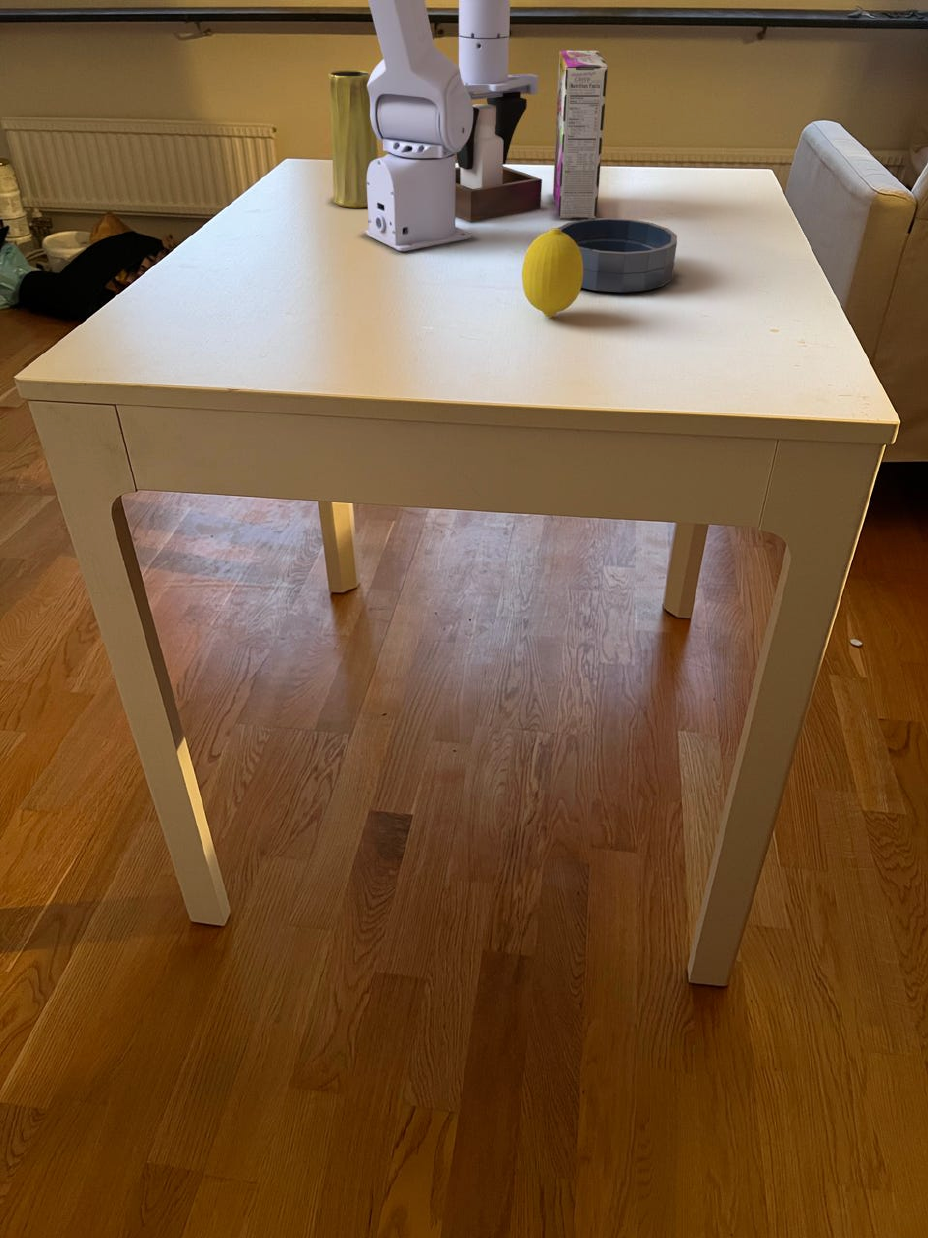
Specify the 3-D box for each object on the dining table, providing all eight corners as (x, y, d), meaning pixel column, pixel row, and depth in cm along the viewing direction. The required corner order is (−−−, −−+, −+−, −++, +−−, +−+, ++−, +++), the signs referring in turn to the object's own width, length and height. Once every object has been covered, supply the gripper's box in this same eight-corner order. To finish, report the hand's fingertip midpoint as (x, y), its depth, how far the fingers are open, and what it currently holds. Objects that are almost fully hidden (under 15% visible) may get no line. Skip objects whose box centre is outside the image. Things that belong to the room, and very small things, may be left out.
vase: (351, 210, 118) (343, 78, 109) (324, 200, 122) (314, 71, 113) (391, 202, 121) (386, 73, 112) (364, 192, 125) (357, 67, 116)
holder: (470, 222, 114) (471, 191, 112) (422, 202, 121) (422, 172, 119) (540, 209, 119) (542, 178, 117) (490, 190, 126) (491, 161, 124)
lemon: (531, 330, 87) (536, 239, 82) (512, 309, 91) (516, 221, 86) (588, 325, 88) (596, 234, 83) (567, 304, 92) (573, 217, 88)
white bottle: (458, 191, 119) (458, 106, 113) (480, 186, 121) (482, 101, 116) (481, 197, 117) (483, 110, 111) (503, 192, 119) (506, 106, 113)
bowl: (606, 303, 93) (610, 261, 90) (529, 269, 101) (531, 229, 98) (696, 280, 98) (702, 239, 96) (616, 249, 106) (620, 211, 104)
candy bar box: (550, 195, 124) (558, 49, 114) (588, 196, 124) (600, 49, 114) (555, 220, 115) (565, 63, 105) (597, 220, 115) (610, 63, 105)
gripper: (448, 44, 103) (449, 179, 111) (556, 35, 109) (549, 164, 118) (415, 36, 108) (417, 167, 116) (520, 28, 114) (515, 153, 122)
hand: (481, 165), depth 117 cm, fingers closed on white bottle, 4 cm apart
